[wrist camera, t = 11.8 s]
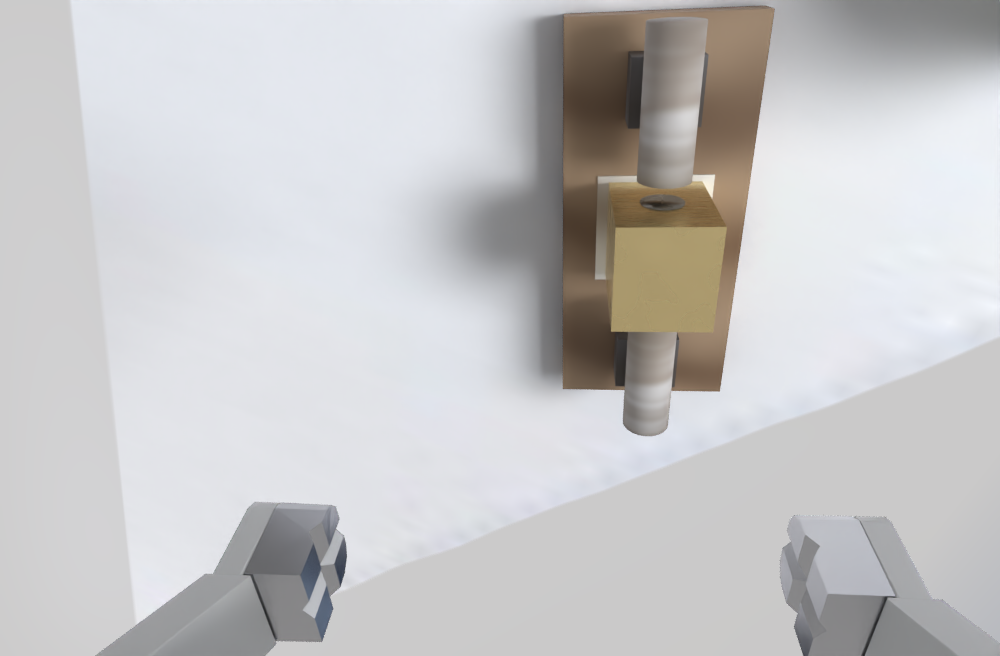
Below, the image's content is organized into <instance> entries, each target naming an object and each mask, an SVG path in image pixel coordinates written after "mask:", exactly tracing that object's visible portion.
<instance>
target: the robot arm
mask: <svg viewBox="0 0 1000 656" xmlns="http://www.w3.org/2000/svg"><path fill="white" fill-rule="evenodd" d="M338 522H339V516H338V512H337V509H336V506H332V505H319V504H299V503H271V502H254V503H253V504H252V505H251V506H250V507H249V508H248V509H247V511H246V513H245V515H244V516H243V518H242V520H241V522H240V524H239V526H238V528H237V530H236V532H235V533H234V535H233V537H232V539H231V541H230V543H229V545H228V547H227V549H226V550H225V552H224V554H223V556H222V558H221V560H220V562H219V564H218V566H217V567H216V569H215V571H214V573H213V574H204V575H203V576H202V577H200V578H199V579H198V580H196V581H195V582H194V583H192V584H191V585H190V586H188V587H187V588H186V589H184V590H183V591H182V592H180V593H179V594H178V595H176V596H175V597H174V598H172V599H171V600H170V601H168V602H167V603H165V604H164V605H163V606H161V607H160V608H159V609H157V610H156V611H155V612H153V613H152V614H151V615H149V616H148V617H147V618H145V619H144V620H143V621H141V622H140V623H139V624H137V625H136V626H135V627H134V628H132V629H130V630H129V631H128V632H126V634H124V635H122V636H121V637H120V638H118V639H117V640H116V641H115V642H113V643H112V644H110V645H109V646H108V647H106V648H105V649H104V650H102V651H101V652H100V653H98V654H97V655H96V656H265V655H266V654H267V653H268V652H269V651H270V650H271V649H272V648H273V647H274V646H275V645H276V641H306V642H307V641H308V642H322V641H323V638H324V635H325V632H326V629H327V626H328V623H329V620H330V617H331V614H332V610H333V606H332V602H331V599H330V596H331V595H332V594H333V593H334V592H335V591H336V590H337V589H339V588H340V587H341V583H342V580H343V577H344V574H345V567H346V559H347V551H346V542H345V538H344V535H343V534H341V533H340V532H339V531H338V530H337V529H336V527H337V524H338ZM787 532H788V535H789V538H790V540H791V542H790V543H789V544H787V545H786V546H785V547H783V549H782V554H781V559H780V578H781V584H782V589H783V593H784V596H785V599H786V603H787V604H788V605H789V606H790V607H791V608H792V609H793V610H795V611H796V612H797V613H798V614H797V618H796V621H795V625H794V628H795V632H796V635H797V638H798V640H799V644H800V647H801V650H802V653H803V656H1000V643H999V642H998V641H996V640H995V639H994V638H992V637H991V636H990V635H988V634H987V633H986V632H984V631H983V630H982V629H980V628H979V627H977V626H976V625H975V624H974V623H972V622H971V621H970V620H968V619H967V618H966V617H965V616H963V615H962V614H960V613H959V612H958V611H957V610H955V609H954V608H953V607H951V606H950V605H949V604H947V603H946V602H945V601H943V600H939V599H932V597H931V595H930V593H929V591H928V589H927V587H926V586H925V584H924V582H923V580H922V578H921V576H920V574H919V572H918V571H917V569H916V567H915V565H914V563H913V561H912V559H911V558H910V556H909V554H908V552H907V550H906V548H905V547H904V544H903V543H902V541H901V539H900V537H899V535H898V533H897V531H896V530H895V528H894V526H893V524H892V522H891V521H890V520H889V519H887V518H886V517H860V516H859V517H857V516H855V517H852V516H804V515H794V516H793V517H792V518H791V520H790V521H789V525H788V529H787Z"/></svg>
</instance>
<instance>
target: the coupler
mask: <svg viewBox="0 0 1000 656" xmlns="http://www.w3.org/2000/svg"><path fill="white" fill-rule="evenodd" d="M726 231H727V226H726V224H725V222H724V220H723V219H722V217H721V215H720V213H719V211H718V209H717V207H716V206H715V204H714V202H713V200H712V198H711V196H710V194H709V193H708V191H707V189H706V187H705V185H704V183H703V181H692V183H691V184H689V185H688V186H685V187H681V188H674V189H658V188H651V187H647V186H643V185H641V184H639V183H638V182H612V183H609V189H608V216H607V242H606V268H605V277H606V287H607V297H608V307H609V317H610V327H611V332H713V329H714V322H715V314H716V306H717V299H718V291H719V284H720V276H721V269H722V261H723V254H724V246H725V238H726Z"/></svg>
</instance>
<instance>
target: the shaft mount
mask: <svg viewBox="0 0 1000 656" xmlns="http://www.w3.org/2000/svg"><path fill="white" fill-rule="evenodd" d="M774 10H775V9H774V8H771V7H768V6H746V7H721V8H696V9H671V10H646V11H621V12H596V13H572V14H564V39H563V389H597V390H625V392H624V409H623V424H624V426H625V427H626V428H627V429H628V430H629V431H630V432H632V433H634V434H637V435H641V436H655V435H659V434H661V433H663V432H664V431H665V430H666V429H667V426H668V418H669V408H670V398H671V391H720V386H721V379H722V372H723V365H724V358H725V351H726V344H727V337H728V330H729V323H730V316H731V309H732V302H733V295H734V288H735V282H736V275H737V268H738V261H739V254H740V247H741V240H742V233H743V226H744V219H745V212H746V205H747V198H748V191H749V184H750V177H751V170H752V163H753V156H754V149H755V142H756V135H757V128H758V121H759V114H760V107H761V100H762V93H763V86H764V79H765V72H766V65H767V59H768V52H769V45H770V38H771V31H772V24H773V17H774ZM692 181H703V183H704V185H705V187H706V189H707V191H708V193H709V194H710V196H711V198H712V200H713V202H714V204H715V206H716V207H717V209H718V211H719V213H720V215H721V217H722V219H723V220H724V222H725V224H726V226H727V231H726V238H725V246H724V254H723V261H722V269H721V276H720V284H719V291H718V299H717V306H716V314H715V322H714V329H713V332H611V327H610V317H609V307H608V297H607V287H606V277H605V268H606V242H607V216H608V189H609V183H612V182H638V183H639V184H641V185H643V186H647V187H651V188H658V189H674V188H681V187H685V186H688V185H689V184H691V183H692Z"/></svg>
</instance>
